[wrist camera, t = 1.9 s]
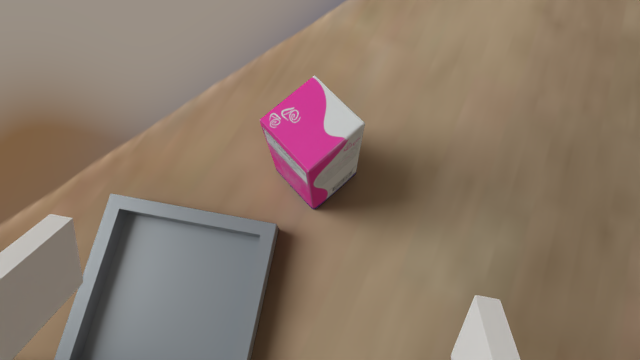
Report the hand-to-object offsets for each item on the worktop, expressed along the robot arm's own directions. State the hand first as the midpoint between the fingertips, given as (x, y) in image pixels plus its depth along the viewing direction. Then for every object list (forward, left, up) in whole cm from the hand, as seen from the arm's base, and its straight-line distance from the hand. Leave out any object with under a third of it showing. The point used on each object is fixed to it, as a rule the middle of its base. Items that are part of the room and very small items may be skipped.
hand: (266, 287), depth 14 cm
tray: (+11, +1, -26) cm, 28 cm away
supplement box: (+1, -13, -26) cm, 29 cm away
